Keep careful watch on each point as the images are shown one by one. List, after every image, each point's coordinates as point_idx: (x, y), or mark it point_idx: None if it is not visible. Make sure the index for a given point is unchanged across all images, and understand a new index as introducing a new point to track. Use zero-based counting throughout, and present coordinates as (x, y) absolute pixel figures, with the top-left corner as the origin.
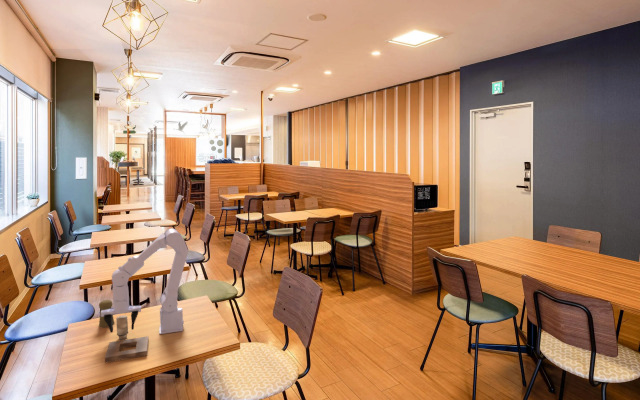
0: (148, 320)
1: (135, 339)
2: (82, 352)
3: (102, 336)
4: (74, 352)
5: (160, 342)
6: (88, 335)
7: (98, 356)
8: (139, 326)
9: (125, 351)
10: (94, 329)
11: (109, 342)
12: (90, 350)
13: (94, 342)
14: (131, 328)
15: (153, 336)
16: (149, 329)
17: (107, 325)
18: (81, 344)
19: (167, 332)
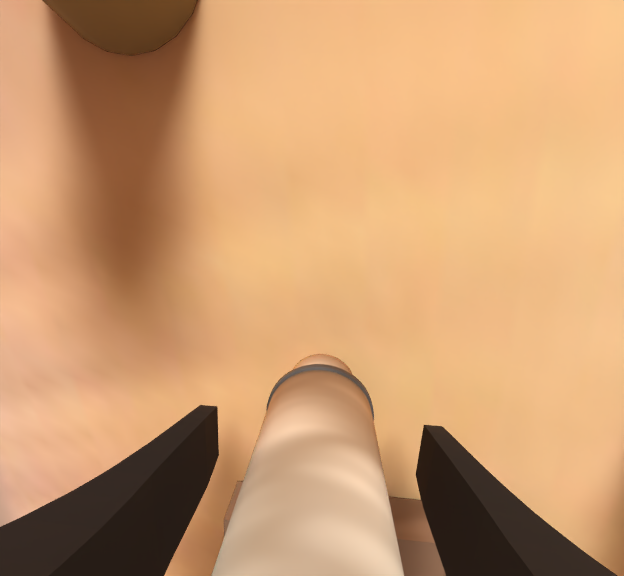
0: (618, 27)
1: (429, 563)
2: (73, 479)
3: (146, 280)
4: (21, 459)
5: None
6: (16, 205)
7: (188, 564)
8: (484, 183)
9: None
10: (25, 68)
11: (224, 525)
12: None
13: (110, 367)
14: (420, 493)
15: (570, 456)
16: (569, 304)
17: (133, 39)
18: (22, 360)
19: None
